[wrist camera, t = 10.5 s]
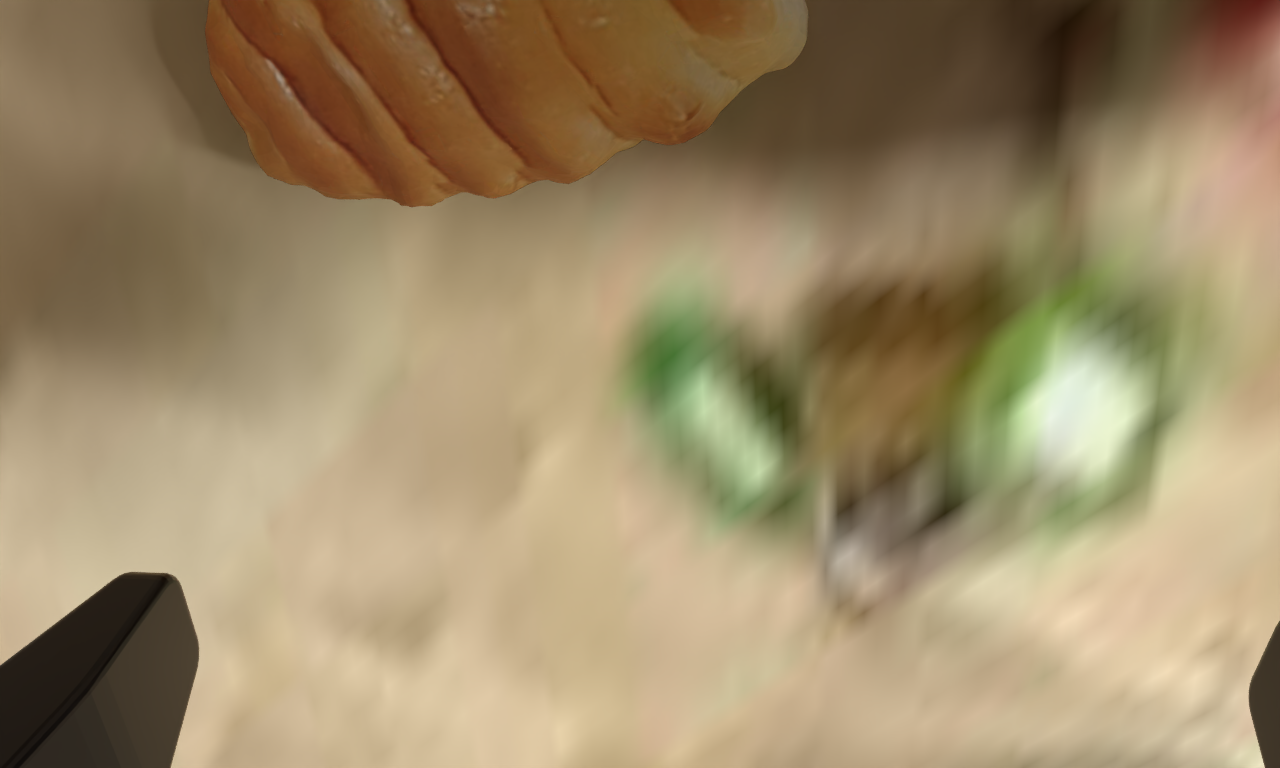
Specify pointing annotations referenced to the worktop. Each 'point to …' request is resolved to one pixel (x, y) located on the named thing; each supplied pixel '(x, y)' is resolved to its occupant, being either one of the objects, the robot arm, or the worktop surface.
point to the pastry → (481, 85)
